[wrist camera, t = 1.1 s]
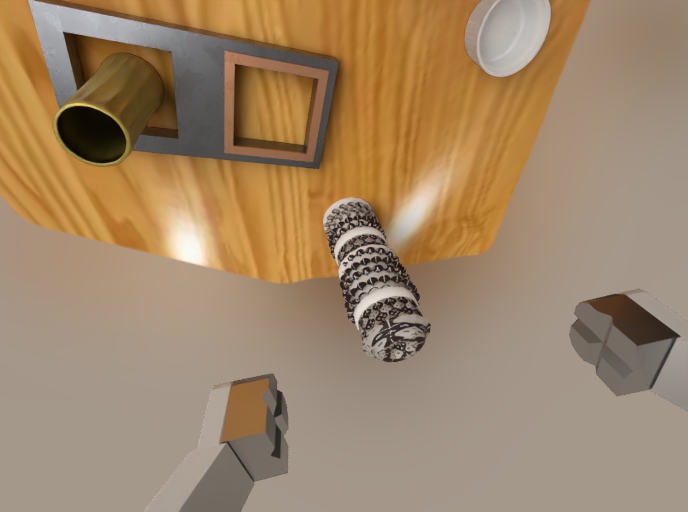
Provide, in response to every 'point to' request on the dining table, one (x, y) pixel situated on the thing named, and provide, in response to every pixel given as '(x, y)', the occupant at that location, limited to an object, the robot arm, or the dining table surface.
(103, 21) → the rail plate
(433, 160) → the dining table surface
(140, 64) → the vase
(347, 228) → the decorative candle
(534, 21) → the ramekin
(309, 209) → the dining table surface
